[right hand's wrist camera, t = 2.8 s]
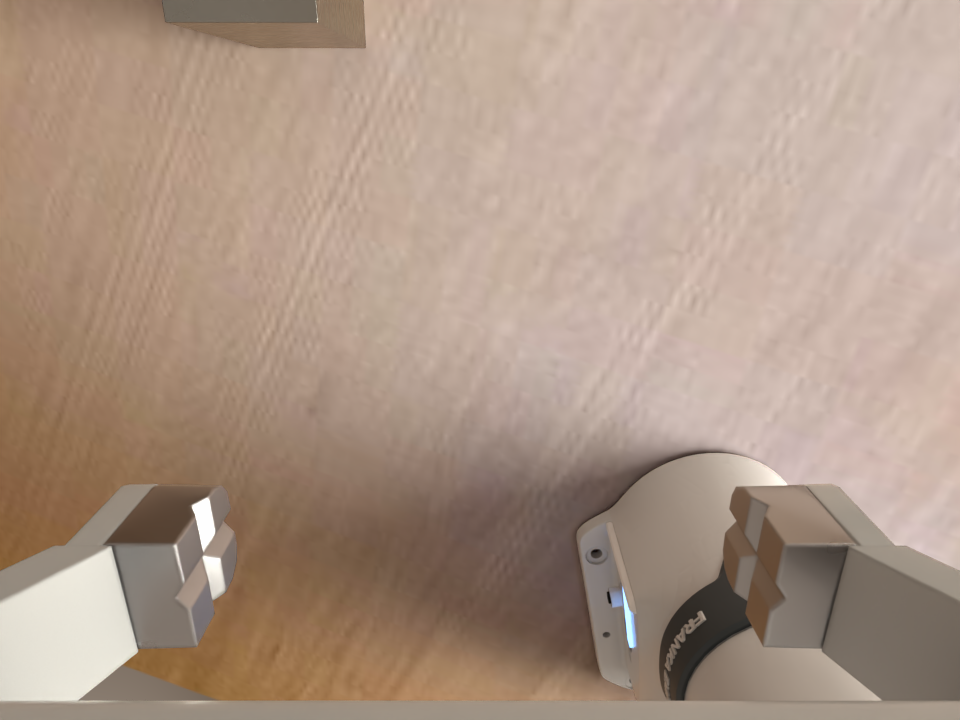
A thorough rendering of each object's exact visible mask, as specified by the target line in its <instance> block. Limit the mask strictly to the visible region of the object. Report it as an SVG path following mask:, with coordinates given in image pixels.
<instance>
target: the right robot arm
mask: <svg viewBox="0 0 960 720" xmlns="http://www.w3.org/2000/svg"><path fill="white" fill-rule="evenodd" d="M230 509H231V507H230V502H229V498H228V493H227V491H226V490H225V489H224V488H223V487H222V486H221V485H172V484H161V485H158V484H129V485H125V486H122V487H121V488H120V489H119V490H118V491H117V492H116V493H115V494H114V495H113V496H112V497H111V498H110V499H109V500H108V501H107V502H106V503H105V504H104V505H103V506H102V507H101V508H100V509H99V510H98V511H97V513H96V514H95V515H94V516H93V517H92V518H91V519H90V520H89V521H88V522H87V523H86V524H85V525H84V526H83V527H82V528H81V529H80V530H79V531H78V532H77V533H76V534H75V535H74V536H73V538H72V539H71V540H70V541H69V542H68V543H67V544H66V545H65V546H53V547H50V548H48V549H46V550H44V551H42V552H40V553H38V554H35V555H33V556H31V557H29V558H27V559H25V560H22V561H20V562H18V563H16V564H14V565H12V566H10V567H7V568H5V569H3V570H1V571H0V720H960V571H959V570H957V569H955V568H952V567H950V566H948V565H946V564H944V563H942V562H940V561H937V560H935V559H933V558H931V557H929V556H927V555H925V554H922V553H920V552H918V551H916V550H914V549H912V548H910V547H907V546H895V545H894V544H893V543H892V542H891V541H890V540H889V539H888V537H887V536H886V535H885V534H884V533H883V532H882V531H881V530H880V529H879V528H878V527H877V526H876V525H875V524H874V523H873V522H872V521H871V520H870V519H869V518H868V517H867V516H866V514H865V513H864V512H863V511H862V510H861V509H860V508H859V507H858V506H857V505H856V504H855V503H854V502H853V501H852V500H851V499H850V498H849V497H848V496H847V495H846V494H845V493H844V492H843V490H842V489H841V488H840V487H838V486H835V485H833V484H807V485H787V483H786V482H785V481H784V480H783V479H782V478H781V477H780V476H779V475H778V474H777V473H776V472H775V471H773V470H772V469H770V468H769V467H767V466H766V465H764V464H762V463H760V462H758V461H755V460H753V459H750V458H747V457H744V456H740V455H735V454H727V453H704V454H696V455H691V456H686V457H683V458H679V459H676V460H673V461H670V462H668V463H666V464H663V465H661V466H659V467H657V468H656V469H654V470H652V471H651V472H649V473H648V474H646V475H645V476H643V477H642V478H641V479H639V480H638V481H637V482H636V483H635V484H633V485H632V486H631V487H630V488H629V489H628V490H627V492H626V493H625V494H624V495H623V496H622V497H621V498H620V500H619V501H618V502H617V503H616V504H615V505H614V506H613V507H611V508H610V509H609V510H607V511H605V512H603V513H601V514H599V515H597V516H596V517H594V518H592V519H590V520H588V521H587V522H585V523H584V524H583V525H582V526H581V527H580V528H579V529H578V531H577V534H576V539H577V545H578V551H579V557H580V563H581V569H582V575H583V581H584V587H585V593H586V599H587V605H588V611H589V617H590V622H591V628H592V634H593V640H594V646H595V652H596V658H597V663H598V667H599V670H600V673H601V675H602V677H603V678H604V679H606V680H608V681H609V682H611V683H613V684H616V685H618V686H621V687H624V688H627V689H631V690H633V691H634V694H635V698H636V701H78V700H79V699H80V698H81V697H83V696H84V695H85V694H86V693H88V692H89V691H90V690H91V689H93V688H94V687H95V686H96V685H98V684H99V683H100V682H101V681H103V680H104V679H105V678H106V677H108V676H109V675H110V674H111V673H112V672H114V671H115V670H116V669H118V668H119V667H120V666H121V665H123V664H124V663H125V662H126V661H127V660H129V659H130V658H131V657H132V656H134V655H135V654H136V653H137V652H138V649H149V648H184V647H197V646H198V644H199V642H200V640H201V638H202V636H203V635H204V633H205V631H206V629H207V627H208V625H209V623H210V621H211V620H212V618H213V616H214V614H215V612H214V607H213V601H214V600H215V599H217V598H218V597H219V596H221V595H222V594H224V593H225V592H226V591H227V589H228V587H229V585H230V583H231V581H232V579H233V575H234V570H235V566H236V561H237V543H236V537H235V532H234V531H233V530H232V529H231V528H230V527H229V526H228V525H227V524H226V523H225V522H224V519H225V518H226V516H227V514H228V513H229V511H230ZM594 549H599V551H597V552H591V551H592V550H594Z"/></svg>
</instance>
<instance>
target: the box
mask: <svg viewBox="0 0 960 720" xmlns="http://www.w3.org/2000/svg"><path fill="white" fill-rule="evenodd" d="M162 4H163V10H164V17H165V22H167V23H170V24H174V25H177V26H181V27H185V28H188V29H192V30H196V31H199V32H203V33H207V34H210V35H214V36H218V37H221V38H225V39H229V40H232V41H236V42H240V43H243V44H247V45H251V46H254V47H258V48H366V41H365V24H364V6H363V0H162Z"/></svg>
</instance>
